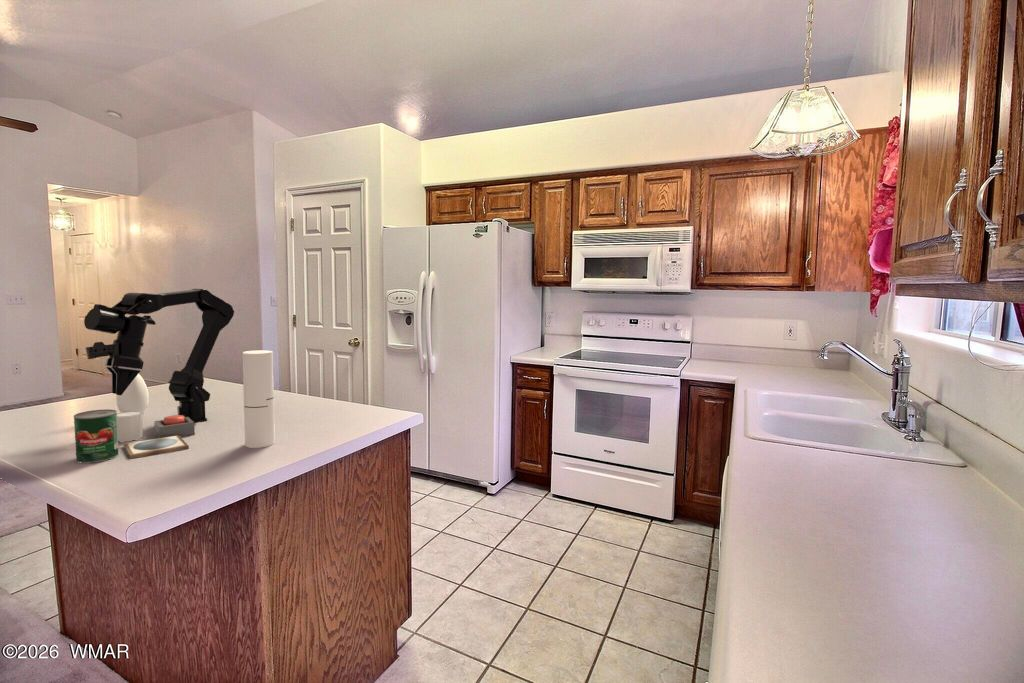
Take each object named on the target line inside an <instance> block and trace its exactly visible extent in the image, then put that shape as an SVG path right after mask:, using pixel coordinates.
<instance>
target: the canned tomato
mask: <svg viewBox="0 0 1024 683" xmlns="http://www.w3.org/2000/svg"><path fill="white" fill-rule="evenodd" d="M117 413H118V410H116V409H106V408H105V409H94V410H92V409H91V410H88V411H82V412H78V413H75V414H74V415H73V421H74V422H73V424H74V426H73V427H74V438H75V439H74V440H75V441H74V442H75V443H74V444H75V456H76V459H75V462H76V461H77V462H76V463H78V462H81V463H80V464H92V463H91V462H97V463H100V462H99V461H103V462H106V461H105V460H107V461H109V460H108V459H110V460H112V459H111V458H113V459H116V458H117V457H119V455H120V453H119V442H118V431H117ZM116 456H117V457H116ZM115 457H116V458H115Z"/></svg>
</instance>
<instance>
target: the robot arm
mask: <svg viewBox="0 0 1024 683" xmlns="http://www.w3.org/2000/svg"><path fill="white" fill-rule="evenodd" d="M192 303H193V304H195V306H196V307H197V309H198V310H200V312H202V315H201V321H202V326H201V327H202V328H201V329H200V332H199V335H198V336H197V339H196V341H195V343H194V345H193V348H192V350H191V352H190V354H189V356H188V359H187V361H186V364H185V365H184V367H183V368H182V369H181V370H174V371H173V372H172V376H171V377H170V380H169V381H168V384H169V386H168V391H169V392H170V394H171V395H172V397H173V399H174V401H176V402H179V403H178V406H177V408H176V409H177V411H176V412H177V415H183V416H184V417H189V418H190V419H191V420H192V421H193V422H194V423H197V422H198V423H199V422H203V421H208V418H207V417H206V402H208V401H210V398H211V393H210V392H209V391H207V389H205V388H204V387H203V386H204V383H205V380H204V379H205V378H204V373H203V372H204V370H205V367H206V365H207V362H208V360H209V357H210V356H211V353H212V351H213V349H214V346H215V344H216V341H217V339H218V337H219V335H220V332H221V331H222V330H223V329H224V328H225V327H226V326H228V325H229V323H230V322H231V320H232V319H233V318H234V314H235V310H234V308H233V306H232V305H231V304H230V303H229V302H226V301H225V300H224V299H222V298H220V297H218V296H216V295H214V294H213V293H212V292H210V291H209V290H207V289H206V288H192V289H187V290H179V291H170V292H162V293H148V292H128V293H125V294H124V295H123V296H122V298H121V300H120V301H119V302H117V303H116V304H114V305H113V306H112V307H109V306H107V305H104V304H101V303H97V304H96V303H95V304H93V307H92V308H91V309H90V310H89V311H88V312H87V314H86V315H85V316H84V320H83V321H84V322H83V324H84V326H85V328H86V329H87V330H91V331H94V332H100V333H107V334H111V335H115V334H117V336H116V338H115V339H114V340H113V342H112V343H110V344H105V343H104V342H103V341H96V342H93V345H92V346H86V347H85V351H86V358H87V360H94V359H97V358H103V357H109V358H106V361H105V362H106V363H105V366H106V369H107V371H108V372H109V373H110V374H111V393H112V395H113V394H114V395H122V394H123V392H124V391H125V390H126V389H127V387H128V386H129V385H130V384H131V382H132V381H133V380H134V378H135V377H136V376H137V375H138V374H139V375H140V373H141V370H143V368H144V360H143V359H142V358H141V357H140V355H141V351H142V348H143V347H144V339H145V334H146V331H147V325H151V326H152V325H153V326H155V325H156V321H155V320H154V319H153V318H152V316H151V315H149V314H152V313H156V312H158V311H161V310H162V309H164V308H166V307H167V308H168V307H172V306H180V305H185V304H192ZM140 314H142V315H143V316H141V315H140ZM126 315H129V316H126Z"/></svg>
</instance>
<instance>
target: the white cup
mask: <svg viewBox="0 0 1024 683" xmlns="http://www.w3.org/2000/svg"><path fill="white" fill-rule="evenodd" d="M144 415H145V412H140V411H131V412H122V413H121V412H117V431H118V441H131V440H136V441H138V440H137V439H139V440H141V439H142V438H143V433H144V432H143V430H144ZM140 438H141V439H140ZM131 442H132V441H131Z"/></svg>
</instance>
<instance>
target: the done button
mask: <svg viewBox="0 0 1024 683" xmlns="http://www.w3.org/2000/svg"><path fill="white" fill-rule="evenodd" d="M163 420H164V426H166V425H173V424H180V423H185V419H184V416H183V415H178V414H177V415H176V414H175V415H168V416H165V417H164V418H163Z"/></svg>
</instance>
